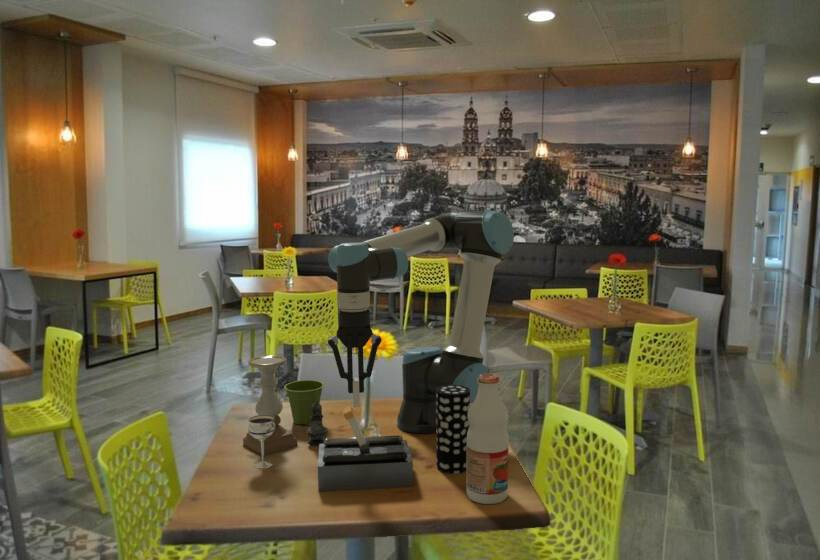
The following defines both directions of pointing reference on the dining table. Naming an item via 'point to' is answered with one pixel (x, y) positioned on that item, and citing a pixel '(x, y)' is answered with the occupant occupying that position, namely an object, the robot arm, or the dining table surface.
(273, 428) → the wineglass
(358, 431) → the breaker lever
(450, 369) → the robot arm
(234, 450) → the dining table surface
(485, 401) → the fruit juice
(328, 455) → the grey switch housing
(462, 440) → the spotted tube
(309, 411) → the plant pot
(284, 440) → the candle holder
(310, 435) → the salt shaker
